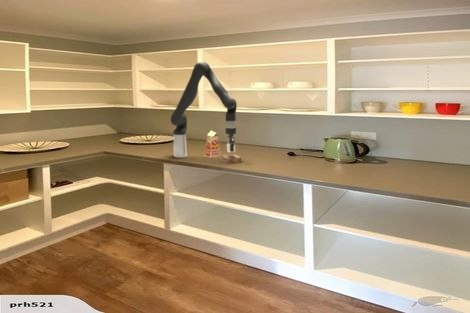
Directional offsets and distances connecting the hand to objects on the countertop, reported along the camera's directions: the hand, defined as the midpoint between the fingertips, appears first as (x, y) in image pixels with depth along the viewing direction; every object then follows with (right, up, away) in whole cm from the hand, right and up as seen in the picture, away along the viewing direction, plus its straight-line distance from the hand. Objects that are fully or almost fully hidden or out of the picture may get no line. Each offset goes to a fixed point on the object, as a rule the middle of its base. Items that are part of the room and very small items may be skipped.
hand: (231, 150), depth 271 cm
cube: (0, -1, 0) cm, 1 cm away
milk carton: (-14, -4, +18) cm, 23 cm away
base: (0, -7, +2) cm, 7 cm away
